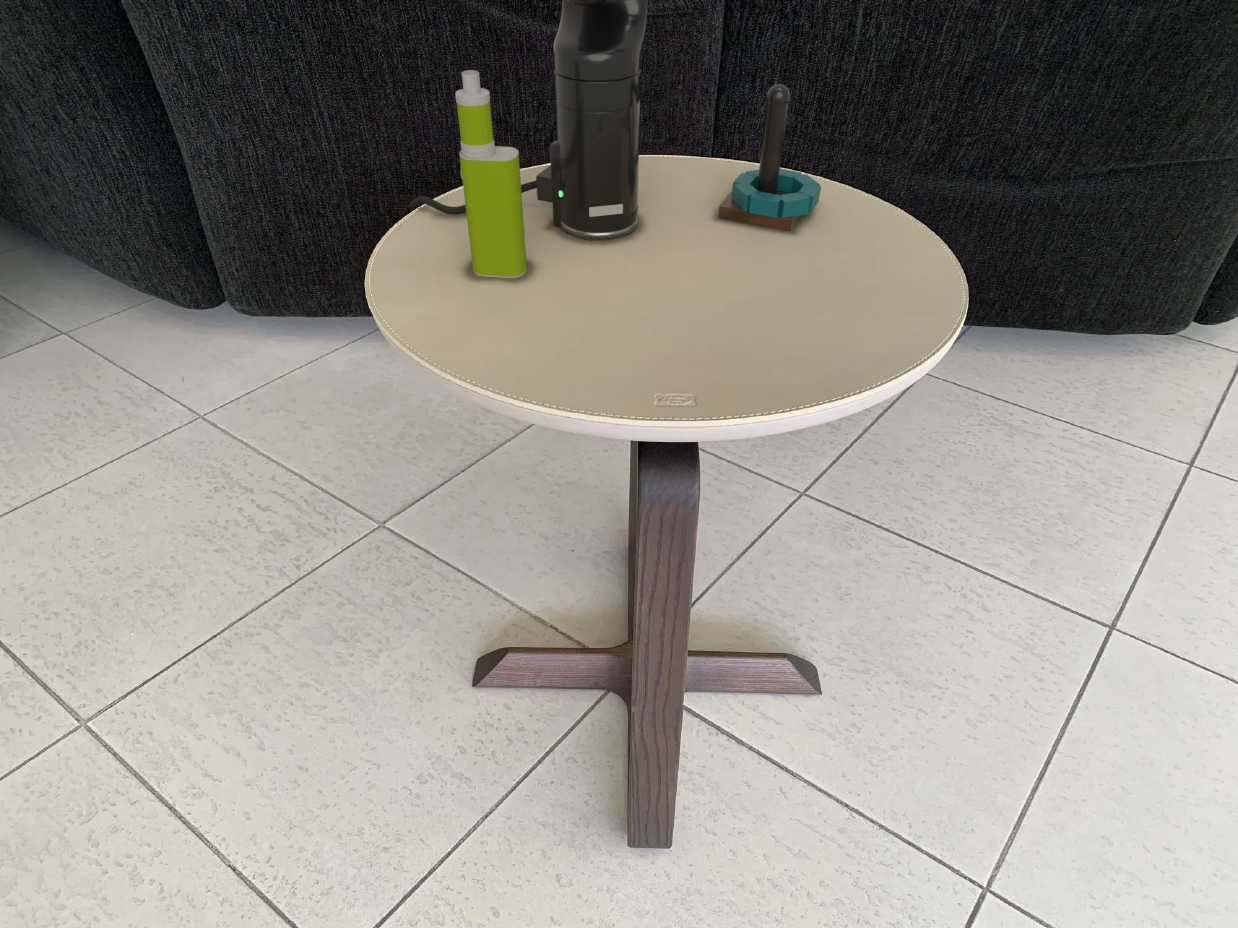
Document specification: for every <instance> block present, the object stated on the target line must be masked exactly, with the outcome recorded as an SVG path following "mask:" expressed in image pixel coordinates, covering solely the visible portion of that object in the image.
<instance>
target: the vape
mask: <svg viewBox="0 0 1238 928" xmlns="http://www.w3.org/2000/svg"><path fill="white" fill-rule="evenodd" d="M461 79H462V80H461V81H462V88H461V89H458V90H457V91H455V92H454V93H455V96H454V97H455V102H456V110H457V117H458V126H459V135H460V149H461V150H460V151H459V152H458V153H459V154H458V155H459V163H460V177H461V180H462V188H463V196H464V205H466V212H465V213H466V222H467V229H468V238H469V247H470V255H471V264H472V271H473V274H474V275H476V276H479V277H488V278H501V279H502V278H505V279H517V278H520V277H522V276H524V275H525V274H526V273H527V270H528V264H527V249H526V248H527V247H526V236H525V223H524V222H525V221H524V220H525V219H524V209H523V196H522V195H523V193H521V185H522V180H521V179H522V178H521V167H520V153H519V149H517V148H516V147H513V146H497V145H496V144H495V139H494V133H493V131H494V130H493V119H492V108H491V95H490V91H489V89H486V88H483V87H481V81H480V80H481V78H480V72H479V71H478V70H475V69H474V70H473V69H468V70H464V71H462V72H461Z"/></svg>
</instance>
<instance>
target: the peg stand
mask: <svg viewBox="0 0 1238 928" xmlns="http://www.w3.org/2000/svg"><path fill="white" fill-rule="evenodd" d="M790 99H791V92H790V89H789V88H788V87H787V86H786V85H784V84H781V83H780V84H779V83H778V84H774V85H772V86H771V87H770V88H769V89H768V91H767V94H766V108H765V114H764V115H765V117H764V125H763V134H762V142H761V150H760V158H759V159H760V160H759V166H758V167H759V169H758V170H759V176H758V184H757V190H758V191H759V192H765V193H770V194H776V195H784V194H791V193H789V192H783V191H777V185H778V178H779V170H780V169H781V162H782V154H783V148H784V147H783V145H784V138H785V132H786V131H785V130H786V125H787V124H786V123H787V117H788V109H789V102H790ZM731 197H732V191H731V192H730V193H729V194H728V195H727V197H725V199H724V200H723V201H722V203H720V205H719V206H718V216H717V218H718V219H722V220H727V221H732V222H737V223H744V224H749V225H755V226H759V227H765V228H772V229H777V230H781V231H787V232H792V230H793V228H794V227H795V225H796V224H797V222H798V220H799V219H800V218H801V216H802V215H800V216H793V217H787V218H782V217H780V216H779V215H778V217H777V218H774V217H768V216H763V215H757V214H752V213H749V210H748V211H744V210H743V209H741V208H740V207H739V206H738V205H737V204H736V203H734V202H733V201H732V198H731Z"/></svg>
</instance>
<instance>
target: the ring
mask: <svg viewBox="0 0 1238 928" xmlns="http://www.w3.org/2000/svg"><path fill="white" fill-rule="evenodd" d="M758 176H759V169H753V170H752V169H751V170H746V171H745V172H741V173H740V174H739V175H738V176H737V177H736V179H734V181H733V182H732V188H731V192H732V197H731V198H732V201H733V202H734V203H736V204H737V205H738V206H739V207H740V208H741V209H743V210H744V211H748V210H749V213H752V214H757V215H763V216H768V217H774V218H777V217H778V215H779V216H780V217H782V218H787V217H793V216H800V215H801V216H804V215H808V214H809V213H812V212H813V211H814V209H815V208H816V207H817V205H818V204H819V201H820V194H821V191H822V190H821V188H822V186H821V184H820V183H819V182H818V181H816V180H815V179H814V178H813V177H811V176H809V175H808V174H802V172H800V171H795V170H788V169H783V168H780V170H779V178H778V185H777V191H783V192H789V193H791V194H784V195H776V194H770V193H765V192H759V191H758V190H757V184H758ZM801 216H800V217H801Z"/></svg>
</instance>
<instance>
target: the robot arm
mask: <svg viewBox="0 0 1238 928" xmlns="http://www.w3.org/2000/svg"><path fill="white" fill-rule="evenodd" d="M648 1H649V0H562V3H561V4H562V5H561V16H560V22H559V26H558V30H557V33H556V35H555V38H554V41H553V47H552V53H553V54H552V56H553V57H552V59H553V79H554V81H553V82H554V103H555V129H556V140H554V141H553V142H552V143H551V144H550V146H549V160H550V161H549V162H550V165H549V166H548V167H545V168H544V169H543V170H542V171H541V172H540V173H538V174H537V175H536V176H535V180H532V181H529V182H525V183H523V184H522V183H521V193H522V194H523V193H525V192H528V191H532V190H535V189H536V199H537V201H542V202H546V203H551V205H552V220H553V226H554V227H558V228H561V229H562V230H563V231H564V232H565V233H567V234H569V235H571V236H574V237H577V238H582V239H587V240H610V239H615V238H620V237H623V236H626V235H628V234H630V233H632V232H634V231H635V230H636V229H637V227H638V225H639V214H638V213H639V203H638V202H639V167H640V166H639V165H640V163H639V160H640V154H639V153H640V114H641V112H640V111H641V108H640V107H641V68H642V67H641V66H642V65H641V64H642V53H643V52H642V51H643V46H644V42H645V39H646V38H645V37H646V31H647V22H648V3H649V2H648ZM421 205H427V206H429V207H431V208H433V209H434V210H436V211H439V212H441V213H444V214H447V215H462V214H465V213H466V205H465V204H463V205H459V206H449V205H446V204H443V203H441V202H440V201H437V200H435V199H433V198H431V197H429V196H426V195H421V196H417V197H415V198H413V199H412V200H411V201H410V203H409V204H408V205H407V206H408V208H410V209H415V208H418V207H419V206H421Z"/></svg>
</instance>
